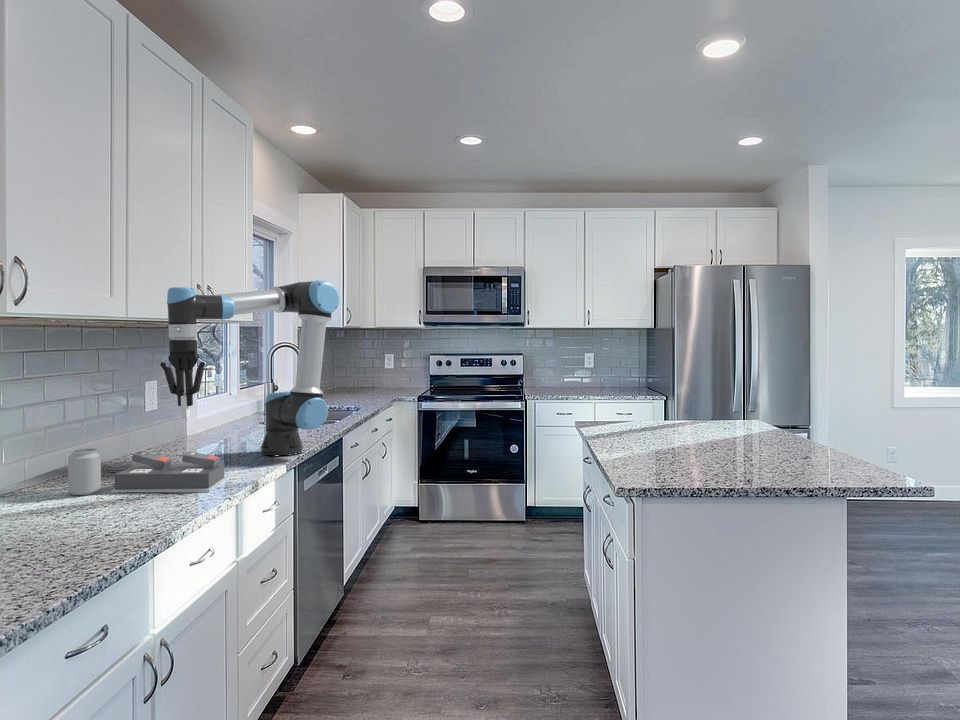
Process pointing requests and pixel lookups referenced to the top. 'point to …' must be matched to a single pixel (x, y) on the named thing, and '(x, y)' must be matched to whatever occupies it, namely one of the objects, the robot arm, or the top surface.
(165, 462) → the rocker
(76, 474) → the can
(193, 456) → the block
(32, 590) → the top surface
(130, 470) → the power strip
